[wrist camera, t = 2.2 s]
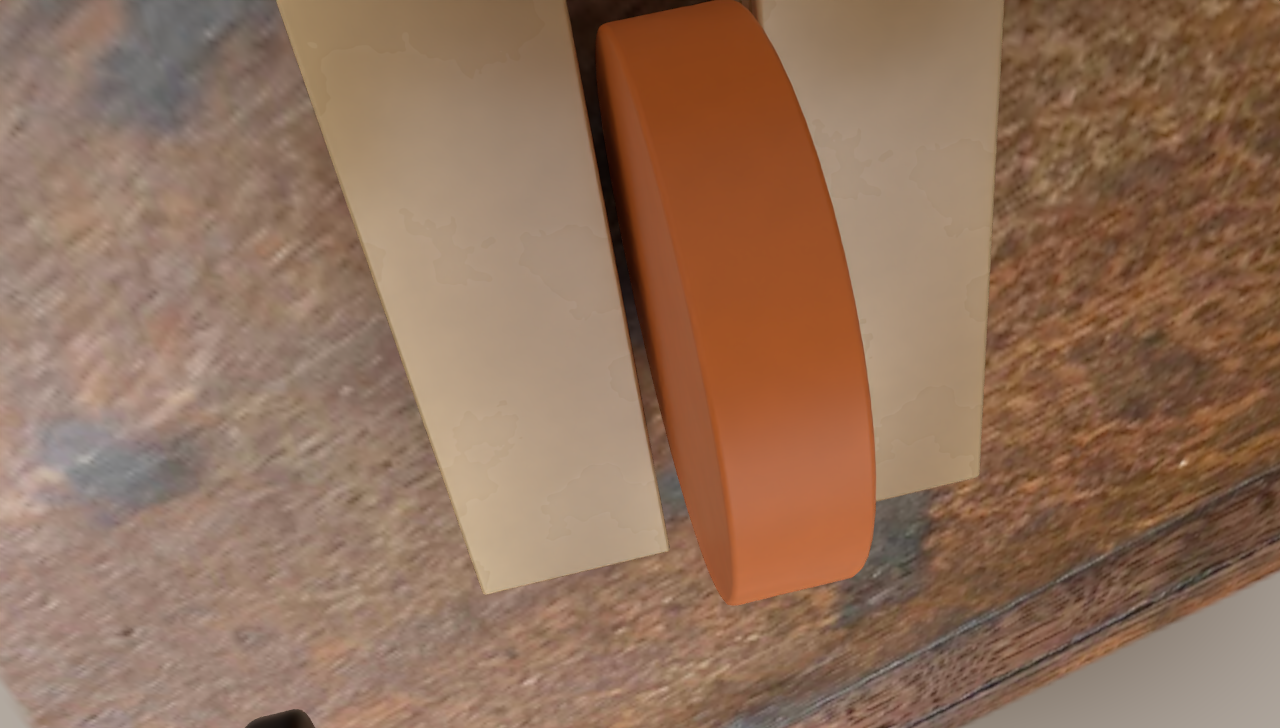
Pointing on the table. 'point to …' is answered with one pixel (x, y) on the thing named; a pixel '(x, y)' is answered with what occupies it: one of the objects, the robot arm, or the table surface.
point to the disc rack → (584, 257)
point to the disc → (740, 297)
